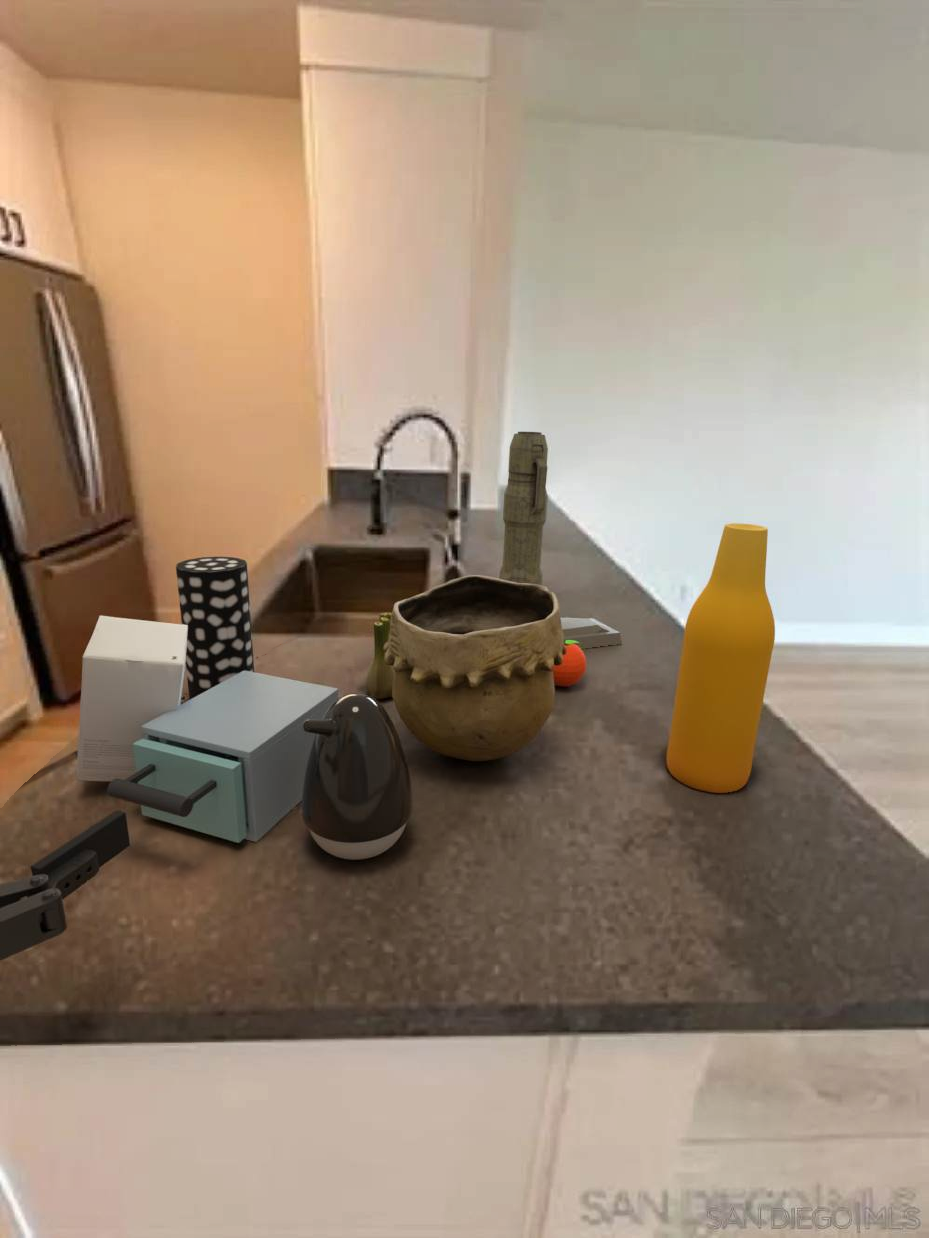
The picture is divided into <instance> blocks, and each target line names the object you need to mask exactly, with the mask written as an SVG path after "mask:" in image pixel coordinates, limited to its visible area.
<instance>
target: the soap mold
mask: <svg viewBox="0 0 929 1238" xmlns="http://www.w3.org/2000/svg"><path fill="white" fill-rule="evenodd" d="M560 618H561V625H562V631H563V634H564V637H563V639H564V640H574V641H577V642H579V643H575V644H576V645H577V646H579V647H580V648H581V650H585V649H584V647H583V646H582V645H581V644H583V645H584V646H585V648H589V649H593V648H592V647H597V648H601V647H600V646H606V647H609V646H608V645H614V646H618V645H617V644H622V645H623V643H622V637H621V632H620V631H617V630H616V629H614V628H613V627H610V626H608V625H606V624H604V623H603V622H601V621H599V620H597V619H595V618H593V617H589V618H579V617H560ZM580 643H581V644H580Z"/></svg>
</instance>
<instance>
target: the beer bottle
mask: <svg viewBox="0 0 929 1238" xmlns="http://www.w3.org/2000/svg"><path fill="white" fill-rule="evenodd" d="M768 533H769V528H768V527H766V526H763V525H758V524H750V523H739V522H738V523H737V522H736V523H733V522H732V523H725V524H724V527H723V529H722V534H721V538H720V541H719V545H718V548H717V549H718V550H717V551H716V552H717V553H716V555H715V560H714V564H713V568H712V571H711V574H710V577H709V580H708V581H707V583H706V585H705V587H704V588H703V589H702V591H701V593H700V594H699V595H698V597H697V598H696V600H695V601H694V603H693V605H692V607H691V608H690V610H689V613H688V616H687V619H686V622H685V627H684V631H683V642H682V648H681V655H680V662H679V670H678V677H677V682H676V683H677V684H676V691H675V697H674V703H673V712H672V720H671V727H670V733H669V739H668V745H667V750H666V766H667V769H668V771H669V773H670V775H672V776H673V778H674V779H676V780H677V781H678V782H679V783H681V784H684V785H685V786H687V787H689V788H692V789H695V790H698V791H702V792H707V793H713V794H728V792H729V793H734V792H737V791H738V790H741V789H742V788H743V787H744V786H745V785H746V784H747V782H748V780H749V778H750V775H751V772H752V766H753V760H754V751H755V747H756V741H757V736H758V730H759V725H760V720H761V715H762V714H761V713H762V709H763V703H764V699H765V692H766V688H767V682H768V676H769V670H770V666H771V661H772V654H773V650H774V646H775V640H776V639H775V638H776V625H775V618H774V613H773V609H772V606H771V603H770V600H769V597H768V593H767V589H766V573H767V572H766V569H767V553H768V537H769V536H768ZM733 791H734V792H733Z"/></svg>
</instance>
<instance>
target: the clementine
mask: <svg viewBox="0 0 929 1238" xmlns="http://www.w3.org/2000/svg"><path fill="white" fill-rule="evenodd" d="M575 643H579V642H577V641H574V640H564V645H565V647H566V648H567V652H566V654H565V655H562V664H561V665H558V666H556V665H554V667H553V678H554V686H557V687H569V686H572V685H575V684H576V683H578V681H580V680H581V679H582V677H583V676H584V674H585V672H586V668H587V659H586V656H585V653H587V649H585V646H584V645H583V644H581V643H580V644H581V645H582V646H583V647H584V649H581V648H580V647H579V646H577V645H576V644H575ZM583 650H584V651H583ZM584 652H585V653H584Z"/></svg>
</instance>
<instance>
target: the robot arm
mask: <svg viewBox="0 0 929 1238" xmlns="http://www.w3.org/2000/svg"><path fill="white" fill-rule="evenodd" d="M129 834H130V833H129V827H128V821H127V813H126V811H122V810H119V809H116V810H114V811H113V812H112V813H110V814H108V815H106V816H105V817H104V818H102V819H100V820H99V821H97V822H96V823H95V824H93V825H92V826H90V827H88V828H87V829H86V830H83V831H82V832H81V833H79V834H78V835H76V836H75V837H73V838H71V839H70V840H68V841H66V842H65V843H64V844H62V845H61V846H59V847H58V848H56V849H55V850H53V851H52V852H49V853H48V854H47V855H45V856H44V857H43V858H41V859H40V860H37V861H36V862H34V863H33V864H31V865H30V871H31V876H26V877H23V878H19V879H15V880H11V881H7V882H3V883H0V962H1V961H3V960H5V959H7V958H10V957H12V956H14V955H17V954H19V953H21V952H24V951H26V950H28V949H30V948H33V947H35V946H37V945H39V944H42V943H44V942H46V941H49V940H51V939H53V938H55V937H57V936H59V935H61V934H63V933H64V932H65V931H66V930H67V928H68V925H67V923H68V922H67V918H66V913H65V907H64V901H63V900H64V899H66V898H67V897H68V896H70V895H71V894H72V893H74V892H75V891H77V890H78V889H79V888H80V887H82V885H83V886H84V885H85V884H86V883H87V882H89V881H91V879H93V878H95V877H96V875H97V874H98V873H99V872H100V868H101V867H102V866H104V865H105V864H107V863H108V862H110V861H111V860H112V859H114V858H115V857H117V856H118V855H119V854H120V853H122V852H123V851H125V850H126V849H127V848H129V847H130V846H131V842H130V841H131V840H130V835H129Z"/></svg>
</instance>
